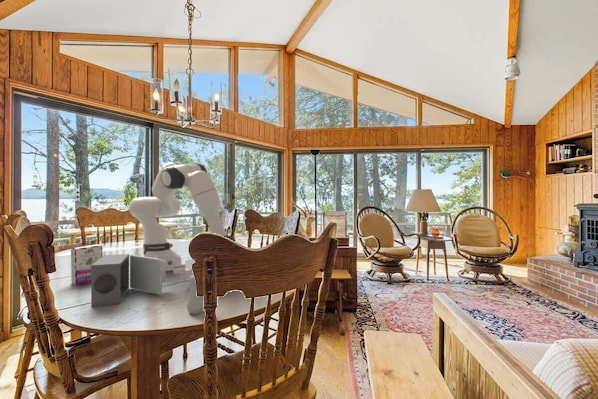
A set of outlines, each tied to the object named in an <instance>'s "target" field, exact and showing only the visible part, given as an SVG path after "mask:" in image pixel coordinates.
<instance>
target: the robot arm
mask: <svg viewBox="0 0 598 399" xmlns="http://www.w3.org/2000/svg"><path fill="white" fill-rule="evenodd" d="M183 188H187V189H189V192H190V193H191V196H192V200H193V202H194V203H195V205H196V207H197V209H198V210H199V212H200V214H201V215H202V217H203V218H204V220H205V221H206V223H207V226H208V229H209V232H210V233H216V234H220V235H222V236H224V237H227V238H229V239H231V240H233V241H236V238H235V237H233V236H231V235H227V232H226V230H225V228H224V226H223V223H222V220H221V216H220V211H221V210H220V209H221V200H220V196H219V193H218V190H217V187H216V185H215V183H214V181H213V180H212V178H211V176H210V175H209V174H208V170H207V169H206V167H205V166H204V165H203V164H202V163H196V162H195V163H182V164H178V163H175V162H166V163H164V165H162V167H161V168H160V170H159V171H158V173H157V175H156V177H155V179H154V181H153V184H152V186H151V192H152V194H153V196H141V197H135V198H133V199H132V200H131V201H130V202H129V205H128V212H129V214H130V215H131V216H132V217H134V218H135V219H137V220H138V221H139V223H140V224H141V226H142V229H143V243H142V244H143V245H142V254H143V257H150V258H156V259H162V260H165V273H166V272H170V271H173V274H175V275H176V274H181V275H184V278H185V279H188V280H189V278H190V276H192V275H193V273H192V268H191V266H192V263H193V262H194V261H193V260H194V259H186V260H185V263H184V262H183V260H182V257H181V254H179V253H178V252H176V251H175V250H174V249H171V248H173V246H174V244H173V243H171V242H168V233H167V232H168V230H167V227H166V226H165V225H164V224H161V223H159V222H158V221H157V218H168V217H173V216H177V215H178V214H179V213H180V211H181V202H180V200H179V199H177V198H176V197H175V194H176V192H177V190H179V189H183ZM236 242H237V241H236Z"/></svg>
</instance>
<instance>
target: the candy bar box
mask: <svg viewBox="0 0 598 399" xmlns="http://www.w3.org/2000/svg"><path fill="white" fill-rule="evenodd" d="M103 256H104V255H103V245H102V244H99V243H98V244H91V245H82V246H77V247H70V262H71V263H70V266H71V268H70V270H71V273H70V274H71V284H72V285H74V286H80V285H85V284H91V265H92V264H94V263H95V262H96V261H98V260H99V259H100V258H102V257H103Z"/></svg>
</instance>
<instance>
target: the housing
mask: <svg viewBox="0 0 598 399" xmlns="http://www.w3.org/2000/svg"><path fill="white" fill-rule="evenodd" d="M90 284H91V290H90V292H91V298H90V302H91V304H90V306H91V308H92V307H101V306H111V305H119V304H121V303H122V301H123V299H124V298H125V297H126V295H127V293H128V292H129V289H130V253H124V254H106V255H105V254H104V255H103V257H102V258H100V259H99V260H98V261H96V262H95V263H94V264H92V265H91V282H90Z"/></svg>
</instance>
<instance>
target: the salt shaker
mask: <svg viewBox="0 0 598 399" xmlns="http://www.w3.org/2000/svg"><path fill="white" fill-rule="evenodd" d="M188 280H189V284H190V289H189V293H188V298H187V303H186V310H187V311H188V314H189V315H193V314H194V315H195V316H196V315H199V313H200V312H201V313H202V312H203V310H204V308H203V299H204V296H203V297H197V296H196V284H195V279H194V275H192V276H190V278H189V279H188ZM201 313H200V314H201Z"/></svg>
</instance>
